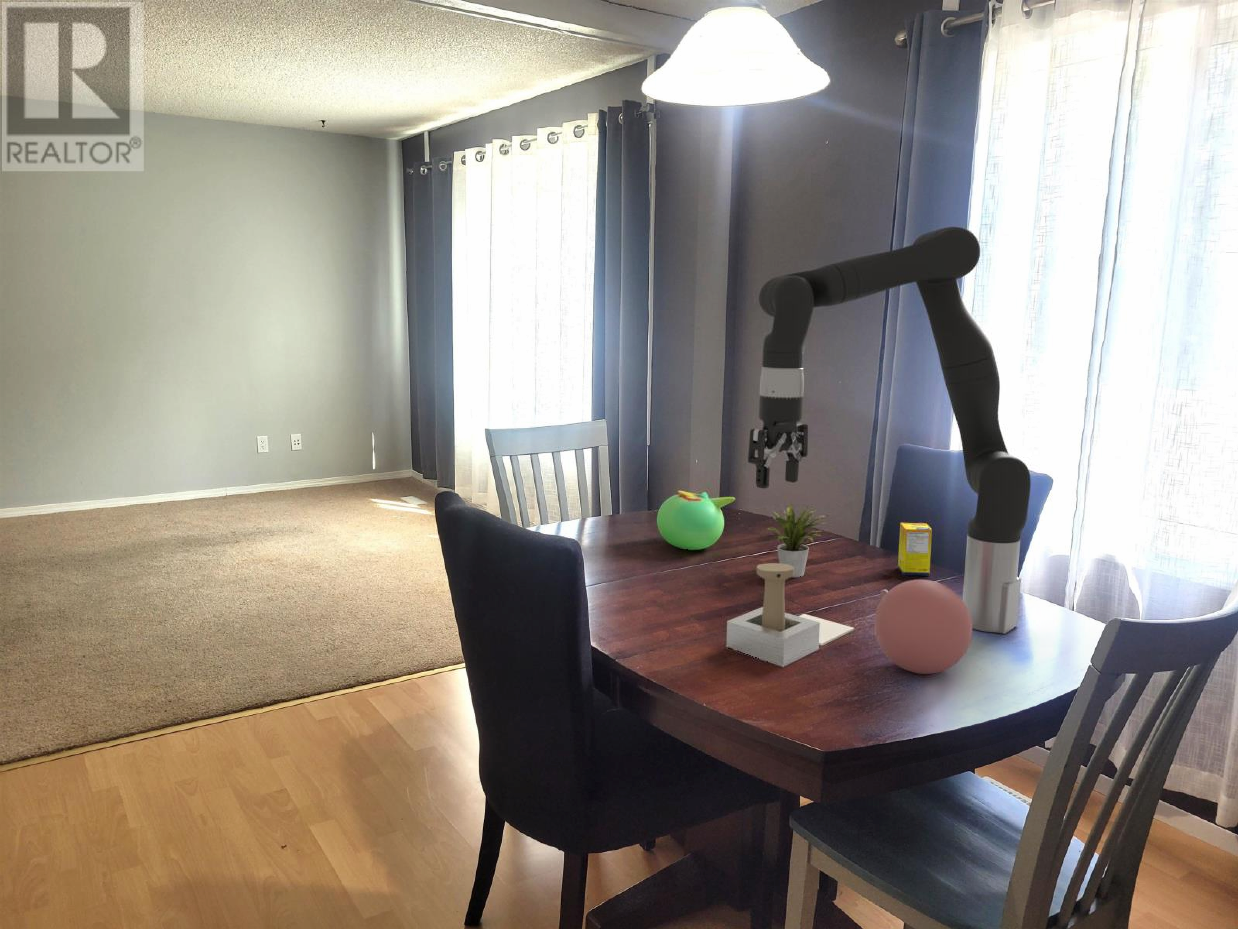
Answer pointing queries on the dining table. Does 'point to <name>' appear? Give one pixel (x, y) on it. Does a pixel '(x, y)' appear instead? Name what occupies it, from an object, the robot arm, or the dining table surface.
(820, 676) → the dining table surface
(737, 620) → the collar
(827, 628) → the mat
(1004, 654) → the dining table surface
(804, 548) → the house plant
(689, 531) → the toy bird
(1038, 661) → the dining table surface
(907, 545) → the supplement box
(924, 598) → the balloon
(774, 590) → the handle
